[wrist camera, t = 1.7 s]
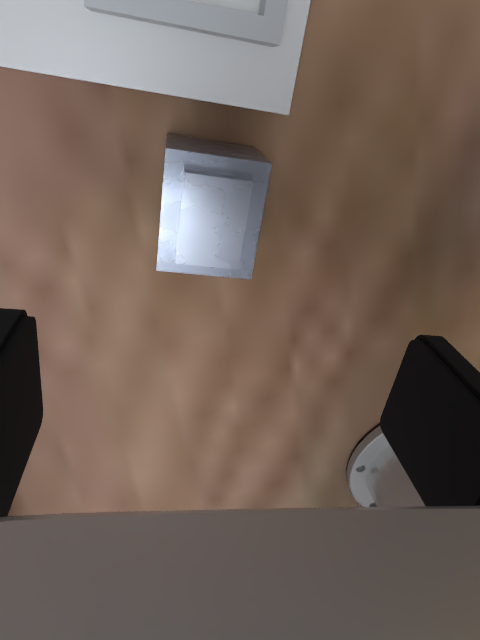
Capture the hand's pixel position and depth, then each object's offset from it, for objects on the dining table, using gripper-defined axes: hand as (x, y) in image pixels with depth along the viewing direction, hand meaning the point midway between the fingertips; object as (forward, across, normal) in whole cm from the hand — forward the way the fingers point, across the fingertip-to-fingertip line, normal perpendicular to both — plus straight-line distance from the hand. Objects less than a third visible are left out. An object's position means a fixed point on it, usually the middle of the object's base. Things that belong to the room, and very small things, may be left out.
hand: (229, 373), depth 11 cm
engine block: (+19, 0, 0) cm, 19 cm away
